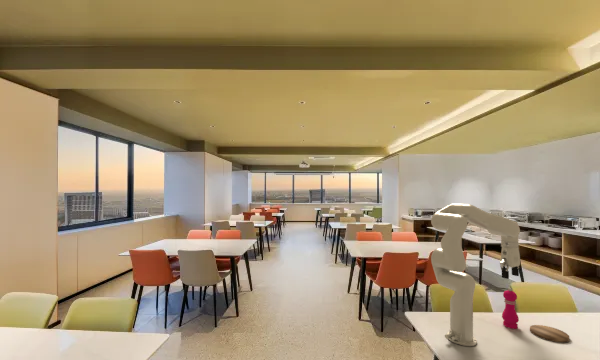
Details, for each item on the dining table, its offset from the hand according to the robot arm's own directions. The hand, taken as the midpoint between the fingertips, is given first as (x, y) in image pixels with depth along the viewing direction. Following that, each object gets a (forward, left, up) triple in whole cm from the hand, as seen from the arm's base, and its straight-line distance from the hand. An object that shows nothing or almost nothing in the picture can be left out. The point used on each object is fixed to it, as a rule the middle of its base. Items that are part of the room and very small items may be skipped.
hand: (510, 276), depth 157 cm
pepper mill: (0, 0, -26) cm, 26 cm away
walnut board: (+7, -14, -26) cm, 30 cm away
